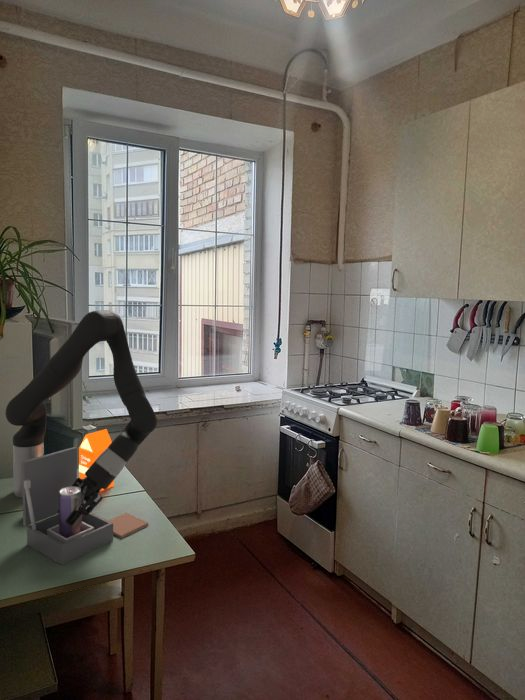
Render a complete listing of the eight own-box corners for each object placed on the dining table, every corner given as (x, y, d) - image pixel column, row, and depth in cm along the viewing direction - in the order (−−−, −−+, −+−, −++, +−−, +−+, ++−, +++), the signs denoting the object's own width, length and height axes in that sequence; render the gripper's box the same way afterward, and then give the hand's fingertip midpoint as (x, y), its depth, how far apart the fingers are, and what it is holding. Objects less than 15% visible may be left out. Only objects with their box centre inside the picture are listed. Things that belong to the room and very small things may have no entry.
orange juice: (78, 488, 174) (78, 432, 171) (100, 480, 181) (99, 426, 178) (93, 494, 169) (92, 437, 167) (114, 486, 177) (114, 431, 174)
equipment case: (23, 542, 138) (20, 461, 135) (75, 520, 151) (74, 446, 148) (61, 565, 128) (59, 479, 125) (113, 540, 141) (113, 461, 138)
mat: (99, 527, 148) (99, 524, 148) (126, 515, 156) (126, 512, 156) (121, 538, 142) (121, 535, 142) (148, 525, 150) (148, 522, 150)
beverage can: (59, 549, 135) (58, 496, 133) (58, 538, 141) (58, 487, 139) (83, 545, 138) (82, 493, 136) (81, 535, 143) (81, 484, 141)
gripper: (87, 453, 146) (45, 502, 140) (107, 469, 135) (62, 523, 129) (105, 467, 150) (65, 515, 144) (125, 483, 139) (83, 536, 134)
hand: (64, 518), depth 137 cm, fingers closed on beverage can, 6 cm apart
